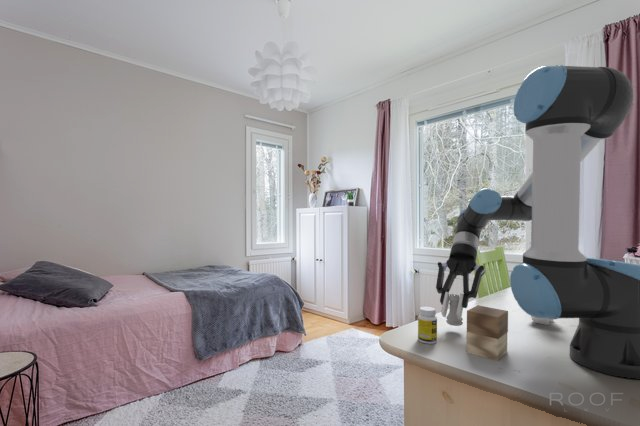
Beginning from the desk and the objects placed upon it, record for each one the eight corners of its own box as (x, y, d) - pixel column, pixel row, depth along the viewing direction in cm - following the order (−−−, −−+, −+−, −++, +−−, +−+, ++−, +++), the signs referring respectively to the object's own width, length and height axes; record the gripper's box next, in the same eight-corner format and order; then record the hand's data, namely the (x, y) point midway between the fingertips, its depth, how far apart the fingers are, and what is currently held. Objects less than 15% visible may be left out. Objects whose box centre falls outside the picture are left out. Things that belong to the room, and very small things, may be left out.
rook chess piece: (464, 326, 94) (464, 297, 94) (447, 325, 95) (447, 296, 95) (461, 321, 98) (461, 293, 98) (444, 320, 99) (444, 293, 99)
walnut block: (507, 331, 82) (508, 310, 82) (498, 339, 77) (498, 317, 77) (477, 324, 87) (477, 305, 87) (466, 331, 82) (466, 310, 82)
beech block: (507, 352, 82) (507, 331, 82) (497, 361, 77) (497, 339, 77) (477, 344, 87) (477, 324, 87) (466, 352, 82) (466, 331, 82)
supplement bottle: (434, 345, 86) (434, 312, 86) (415, 341, 88) (415, 309, 88) (438, 339, 90) (439, 307, 90) (420, 336, 92) (420, 305, 92)
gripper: (494, 259, 104) (485, 328, 91) (439, 255, 114) (424, 317, 100) (491, 243, 100) (482, 312, 86) (435, 240, 109) (418, 303, 96)
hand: (451, 315), depth 93 cm, fingers closed on rook chess piece, 3 cm apart
